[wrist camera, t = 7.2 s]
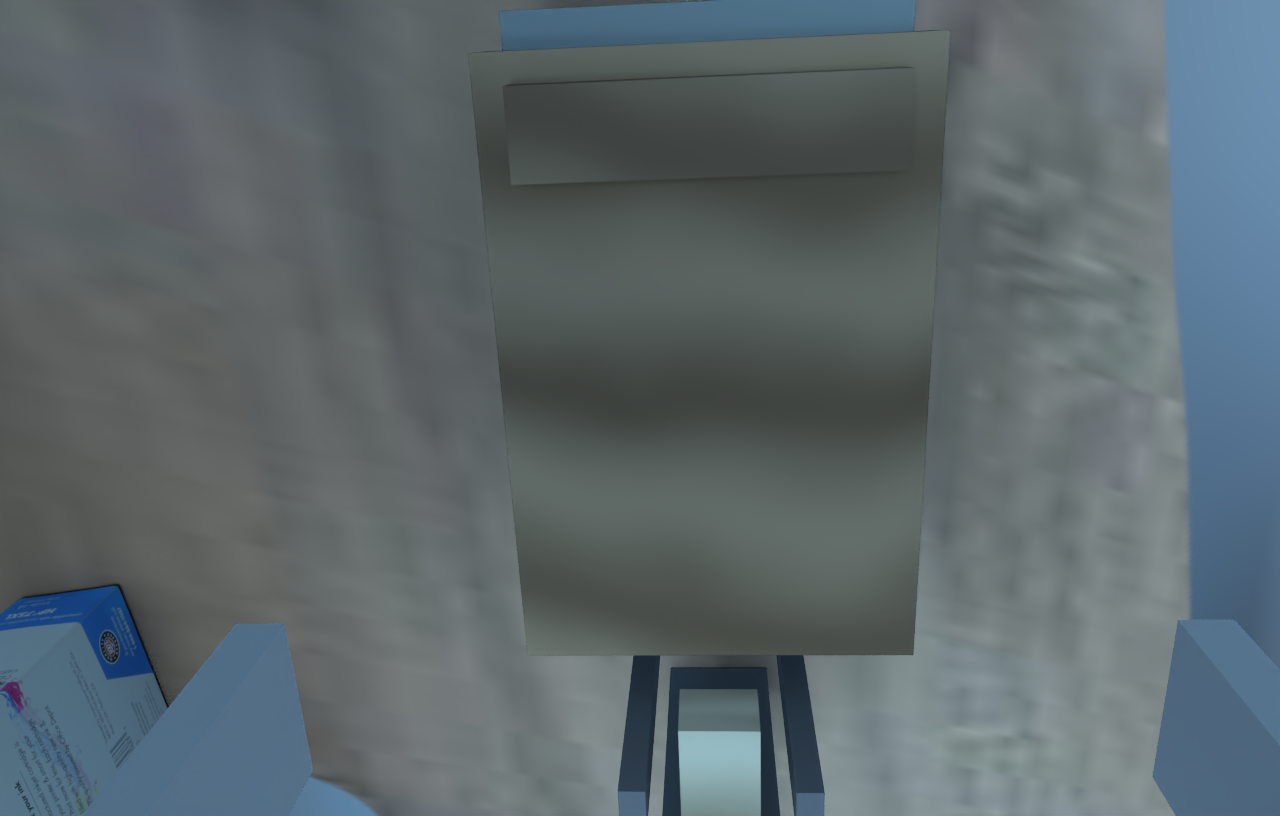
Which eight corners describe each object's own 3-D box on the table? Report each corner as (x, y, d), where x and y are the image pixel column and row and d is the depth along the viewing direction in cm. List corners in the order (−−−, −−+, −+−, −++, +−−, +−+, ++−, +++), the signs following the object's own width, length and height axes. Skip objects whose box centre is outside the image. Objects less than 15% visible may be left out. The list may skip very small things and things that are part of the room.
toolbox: (540, 15, 33) (453, 6, 22) (874, -1, 33) (963, -20, 21) (590, 695, 43) (548, 935, 31) (849, 696, 42) (903, 942, 31)
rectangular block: (679, 689, 31) (677, 731, 29) (757, 689, 31) (760, 731, 29) (686, 864, 34) (684, 912, 32) (758, 864, 33) (761, 914, 32)
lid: (484, 51, 27) (459, 53, 24) (933, 30, 26) (960, 30, 24) (537, 620, 33) (522, 674, 31) (901, 619, 33) (919, 674, 30)
